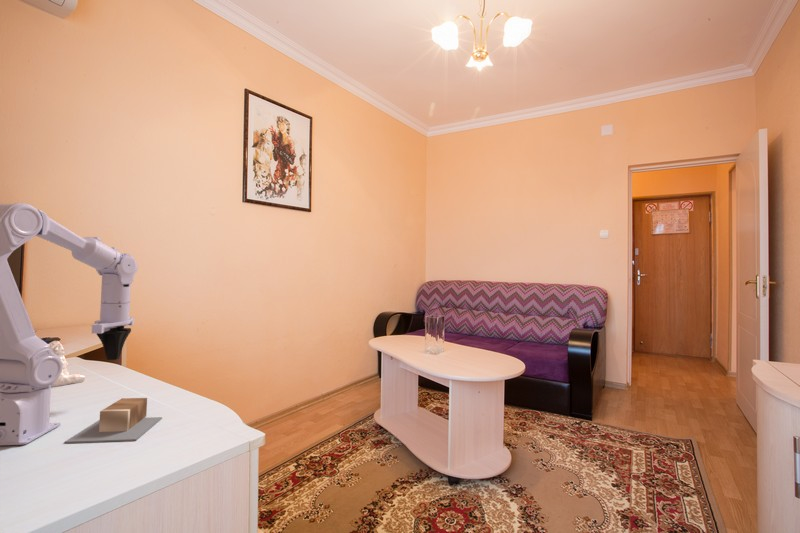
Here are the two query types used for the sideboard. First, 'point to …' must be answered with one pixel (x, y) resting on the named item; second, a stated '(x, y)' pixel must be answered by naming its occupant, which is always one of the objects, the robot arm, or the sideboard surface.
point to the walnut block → (123, 414)
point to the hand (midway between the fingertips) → (113, 359)
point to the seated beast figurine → (64, 367)
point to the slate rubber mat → (114, 432)
